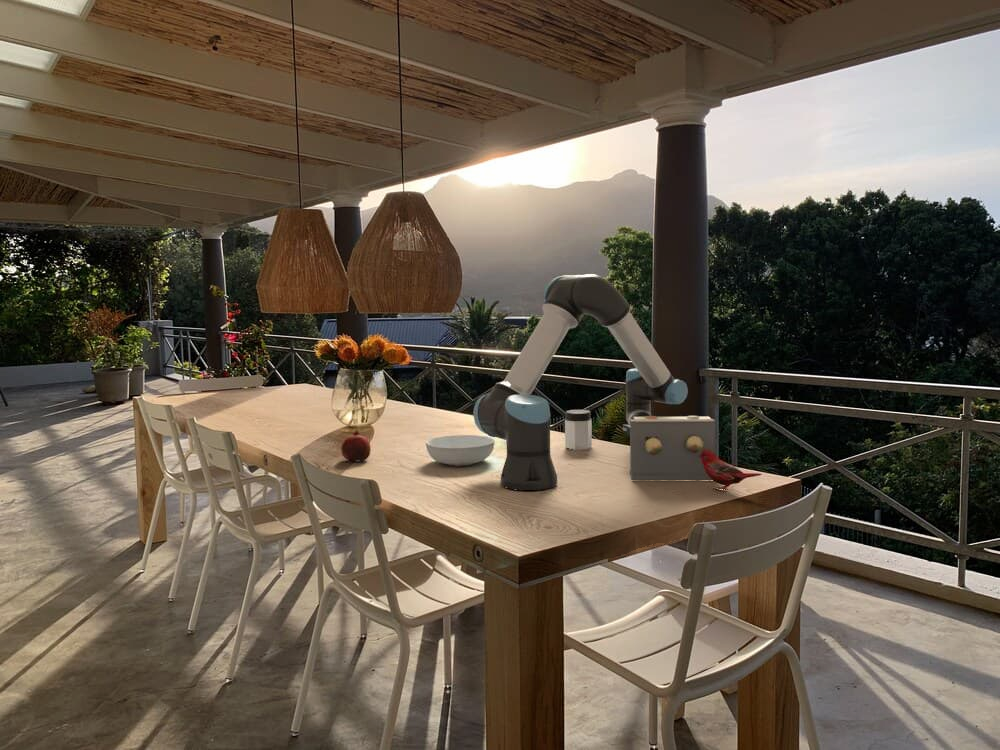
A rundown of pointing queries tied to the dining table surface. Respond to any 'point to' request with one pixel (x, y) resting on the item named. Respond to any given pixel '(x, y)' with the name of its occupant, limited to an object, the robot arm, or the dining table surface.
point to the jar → (578, 430)
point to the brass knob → (653, 445)
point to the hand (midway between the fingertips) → (650, 440)
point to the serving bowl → (460, 449)
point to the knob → (694, 443)
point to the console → (669, 447)
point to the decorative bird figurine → (722, 470)
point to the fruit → (356, 447)
